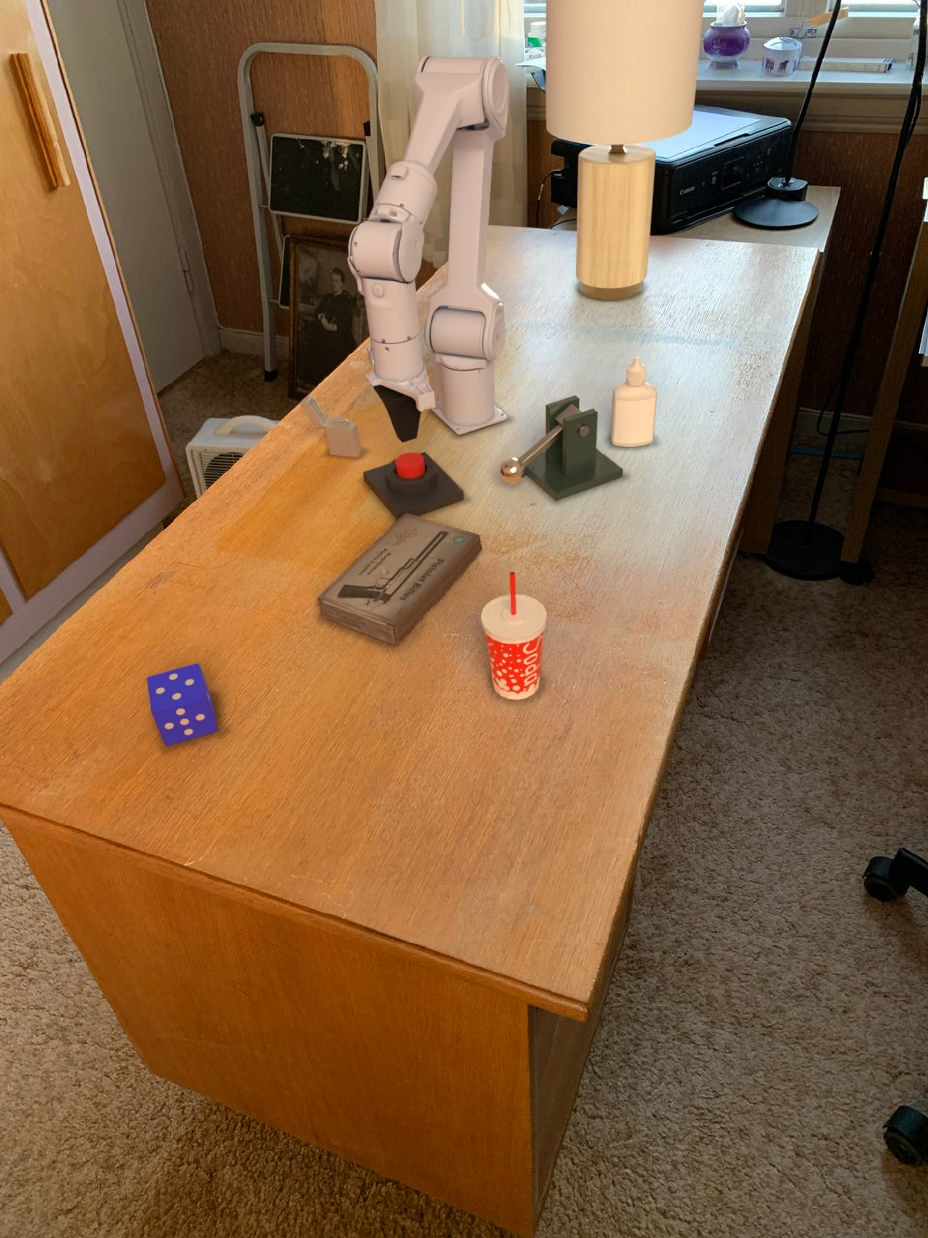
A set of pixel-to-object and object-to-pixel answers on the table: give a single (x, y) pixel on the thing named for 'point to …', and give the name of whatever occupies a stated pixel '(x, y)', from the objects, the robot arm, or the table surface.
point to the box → (399, 578)
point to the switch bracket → (572, 454)
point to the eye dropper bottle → (633, 409)
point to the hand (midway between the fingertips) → (407, 437)
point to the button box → (413, 489)
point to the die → (181, 704)
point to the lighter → (334, 429)
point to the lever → (534, 450)
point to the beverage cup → (514, 642)
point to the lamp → (618, 120)
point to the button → (410, 465)
